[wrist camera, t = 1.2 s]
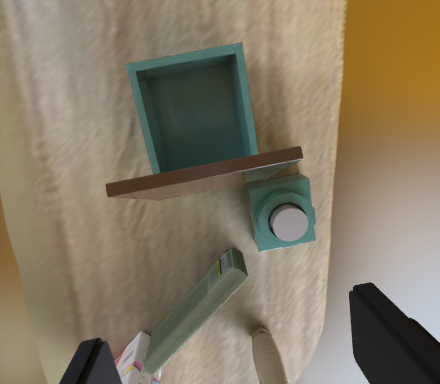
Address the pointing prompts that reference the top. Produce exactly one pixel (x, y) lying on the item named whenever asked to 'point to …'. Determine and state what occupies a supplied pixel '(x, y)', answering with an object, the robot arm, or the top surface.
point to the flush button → (288, 222)
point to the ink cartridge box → (136, 362)
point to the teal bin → (194, 107)
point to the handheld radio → (196, 309)
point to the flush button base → (274, 197)
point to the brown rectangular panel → (205, 176)
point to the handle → (267, 358)
